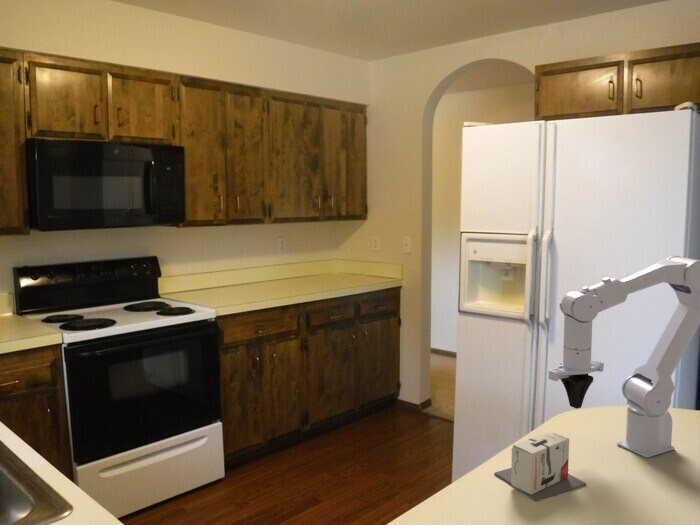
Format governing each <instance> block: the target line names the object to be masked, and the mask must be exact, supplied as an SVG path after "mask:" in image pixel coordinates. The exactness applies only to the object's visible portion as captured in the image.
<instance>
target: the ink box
mask: <svg viewBox="0 0 700 525" xmlns="http://www.w3.org/2000/svg"><path fill="white" fill-rule="evenodd" d="M569 453H570V438H569V437H567V436H564V435H561V434H558V433H556V432H554V431H551V430H548V431H547V432H544V433H541V434H539V435H535V436H534V437H532V438H529V439H527V440H524V441H521V442H518V443H516V444H513V445H512V448H511V465H510V466H511V467H510V468H511V469H512V472H511V483H512V485H513V486H514V487H513V486H512V485H511V486H512V487H513V488H515V487H517V488H518V489H521V490H522V491H524V492H526V493H528V494H530V495H532V494H534V493H536V492H538V491H540V490H542V489H544V488H547V487H549V486H551V485H553V484H555V483H557V482H559V481H561V480H563V479H566V478H568V474H569V458H570V457H569V456H570V455H569ZM518 489H517V490H518Z"/></svg>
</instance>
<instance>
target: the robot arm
mask: <svg viewBox="0 0 700 525" xmlns="http://www.w3.org/2000/svg"><path fill="white" fill-rule="evenodd" d="M662 283H665V284H668V286H670V287H671V289H672V290H673V291H674V292H675V295H676V297H677V299H678V304H677V306H676V308H675V309H674V311H673V314H672V315H671V316H670V319H669V321H668V323H667V325H666V326H665V328H664V330H663V332H662V334H661V335H660V337H659V339H658V341H657V343H656V344H655V346H654V349H653V350H652V352H651V354H650V355H649V358H648V360H647V361H646V363H644V364H642V365H640V366H638V367H636V368H635V369H634V371H633V372H632V374H630V375H629V376H628V377H627V378H626V379H625V380H624V381H623V382H622V385H621V393H622V396H623V397H624V398H625V399H626V405H627V407H626V431H625V439H624V440H620V441H617V442H616V445H617V446H619V447H621V448H624V449H626V450H629V451H630V452H633V453H635V454H638V455H640V456H642V457H643V458H651V457H654V456H657V455H661V454H663V453H667V452H670V451H672V450H675V449H676V448H675V447H676V446H674V445H672V442H673V441H672V438H673V417H672V416H671V413H670V412H669V411H668V410H669V408H670V407H671V404H672V395H673V393H674V391H675V389H676V388H675V384H674V382H673V379H672V375H673V373H674V371H675V369H677V366H678V365H679V363H680V361H681V359H682V358H683V355H684V353H685V352H686V350H687V348H688V346H689V344H690V343H691V341H692V339H693V337H694V335H695V333H696V332H697V330H698V329H699V326H700V259H693V258H688V257H683V256H680V255H672V256H669V257H667V258H663V259H660V260H659V261H657V262H655V264H652V265H650V266H648V267H646V268H644V269H642V270H639V271H637V272H635V273H634V274H631V275H629V276H627V277H625V278H623V279H621V280H620V279H618V278H614V277H611V278H610V277H603V278H602V279H601V281H600V282H599V283H597V284H594V285H591V286H584V287H582V288H581V291H580V292H579V291H576V290H572V291H569V292H568V293H566V294H565V295H564V296H563V298H562V300H561V302H560V303H559V309H560V312H562V314H563V315H564V320H563V349H562V350H563V351H562V352H563V353H562V354H563V356H562V361H561V362H560V363H559V364H560V365H559V366H557V367H554V368H552V369H549V370H548V380H551V381H553V382H558V381H559V380H560V381H561V383H562V385H563V386H564V389H565V392H566V396H567V399H568V402H569V406H570V407H571V408H574V409H581V408H582V406H583V403H584V399H585V396H586V394H587V392H588V390H589V388H590V386H591V385H592V383H593V382H594V376H592V375H589V374H590V373H595V372H604V368H605V367H604V362H601V361H599V360H593V361H592V346H593V345H592V344H593V343H592V342H593V341H592V340H593V320H595V319H596V318H597V317H598V316H597V315H599V313H601V312H603V311H606V310H608V309H611V308H613V307H616V306H618V305H621V304H623V303H625V302H626V300H627V298H628V296H629V295H631V294H633V293H636V292H639V291H642V290H645V289H647V288H650V287H654V286H656V285H660V284H662Z"/></svg>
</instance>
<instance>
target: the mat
mask: <svg viewBox="0 0 700 525" xmlns="http://www.w3.org/2000/svg"><path fill="white" fill-rule="evenodd" d="M511 472H512V469H511V467H509V468H506V469H503V470H502V469H501V470H499V471H496V472H495V471H494V475H495V476H496V477H498V478H499V479H501V480H502V481H503V482H505V483H507V484H509V485H510V486H512V487H513V488H515V489H517V490H518V491H520V492H521V493H523V494H524V495H525V496H527V497H528V498H531V499H532V500H533V501H535V502H540V501H542V500H546V499H549V498H551V497H555V496H558V495H561V494H564V493H567V492H570V491H573V490H576V489H579V488H583V487H585V486H587V482H585V481H583V480H581V479H579V478H578V477H576V476H574V475H572V474H570V473H568V478H566V479H563V480H561V481H559V482H557V483H555V484H553V485H551V486H549V487H547V488H544V489H542V490H540V491H538V492H536V493H534V494H532V495H530V494H528V493H526V492H524V491H522V490H521V489H518V488H517V487H514V486H513V485H512V483H511Z"/></svg>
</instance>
